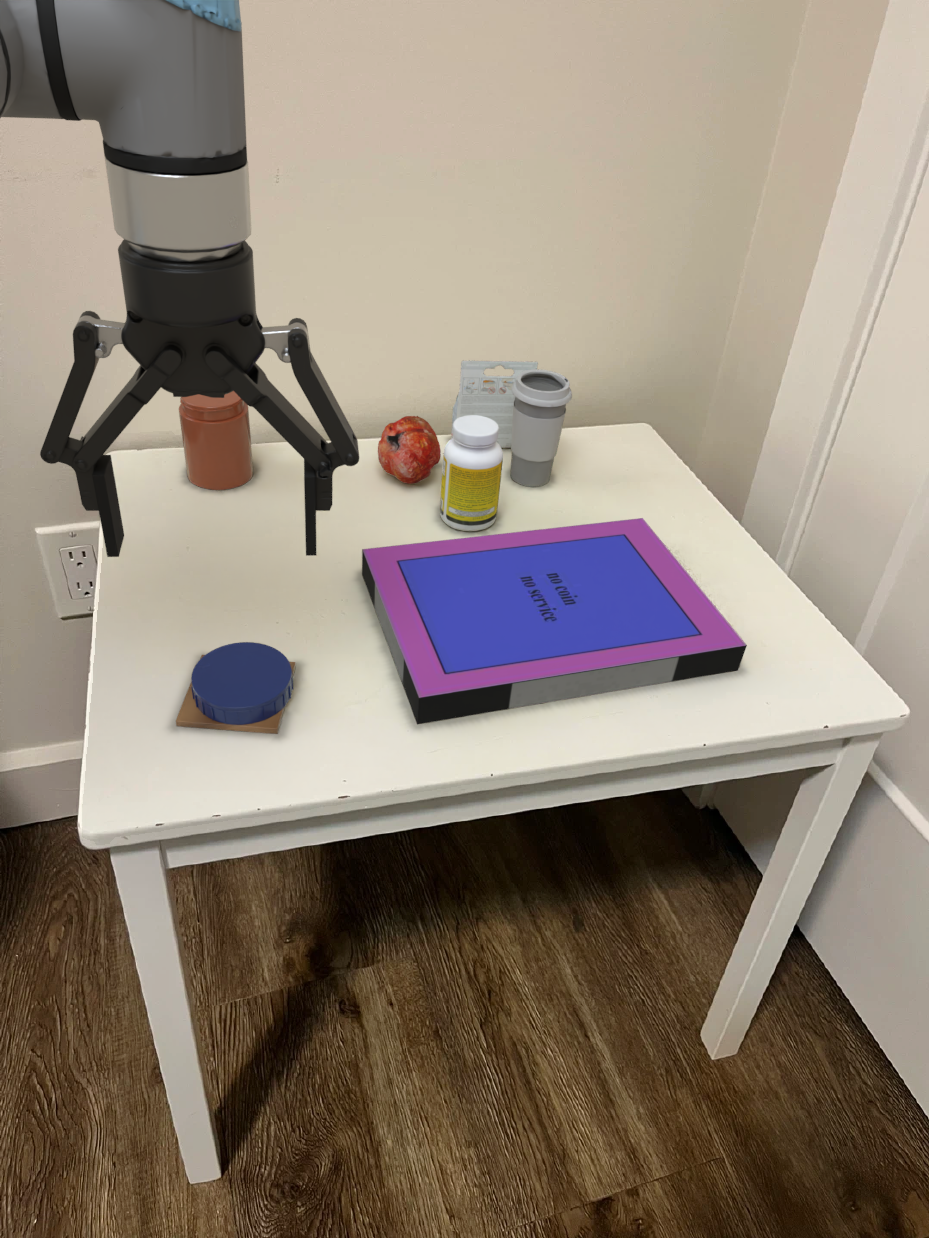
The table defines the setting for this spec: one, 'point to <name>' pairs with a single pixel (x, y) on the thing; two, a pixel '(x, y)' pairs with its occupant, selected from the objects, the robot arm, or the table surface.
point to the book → (542, 617)
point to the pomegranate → (409, 449)
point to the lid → (242, 683)
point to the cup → (537, 424)
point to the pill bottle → (471, 474)
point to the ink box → (489, 394)
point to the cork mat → (196, 719)
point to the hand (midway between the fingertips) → (215, 546)
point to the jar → (216, 441)
